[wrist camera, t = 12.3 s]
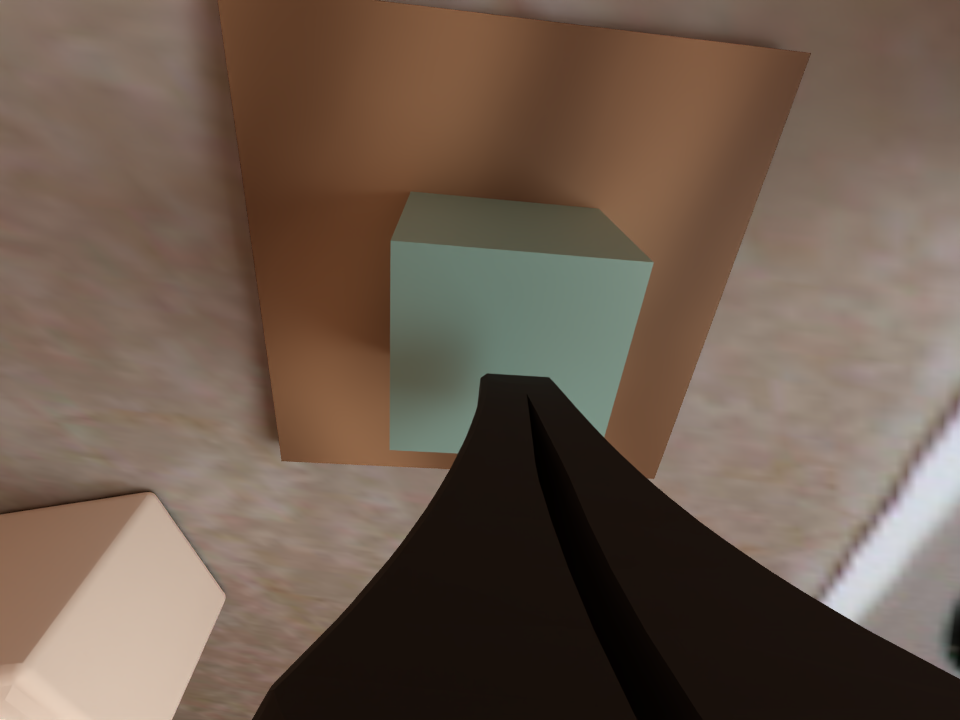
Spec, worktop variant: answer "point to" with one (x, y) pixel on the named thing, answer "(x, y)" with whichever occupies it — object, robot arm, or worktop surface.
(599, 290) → the sage green cube
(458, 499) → the robot arm
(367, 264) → the board
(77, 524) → the medicine bottle
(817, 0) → the worktop surface
